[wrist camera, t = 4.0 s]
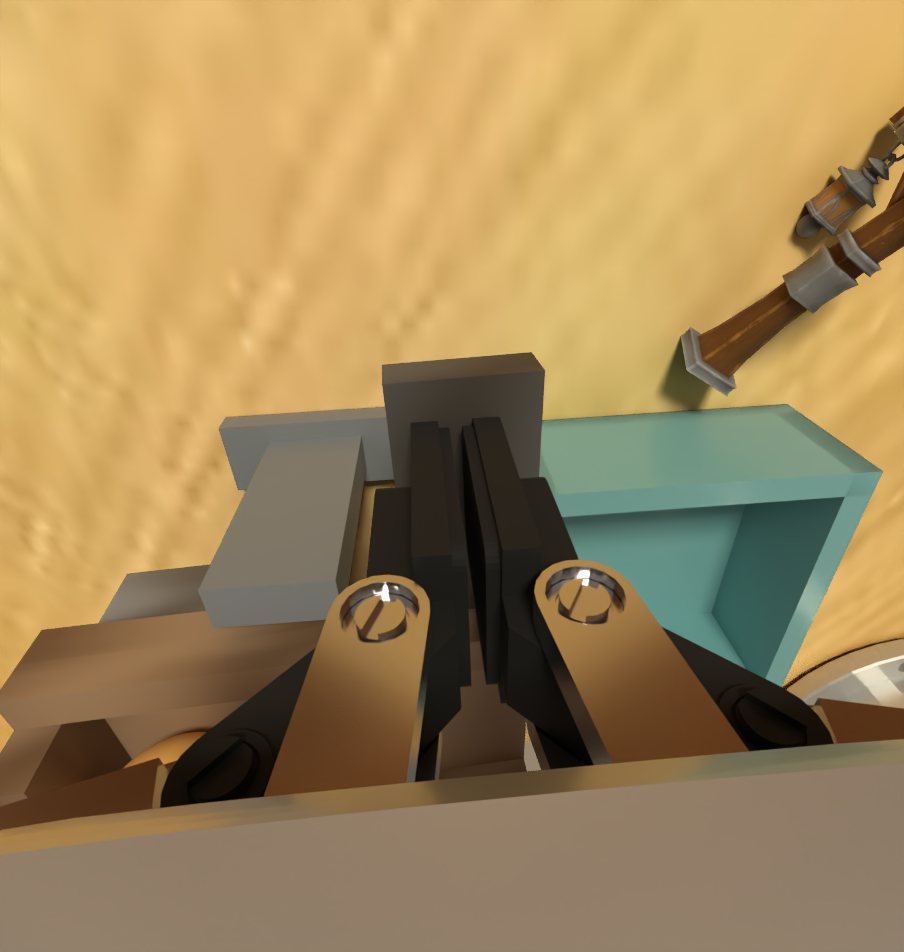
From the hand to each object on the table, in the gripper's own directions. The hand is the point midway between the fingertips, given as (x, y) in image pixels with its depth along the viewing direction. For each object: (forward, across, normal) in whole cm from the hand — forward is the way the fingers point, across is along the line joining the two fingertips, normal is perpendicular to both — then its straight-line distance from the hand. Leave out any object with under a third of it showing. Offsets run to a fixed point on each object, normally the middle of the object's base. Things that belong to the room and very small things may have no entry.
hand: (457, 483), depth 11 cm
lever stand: (+7, +4, +8) cm, 11 cm away
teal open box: (+7, -7, +8) cm, 13 cm away
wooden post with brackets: (+8, -10, -3) cm, 13 cm away
